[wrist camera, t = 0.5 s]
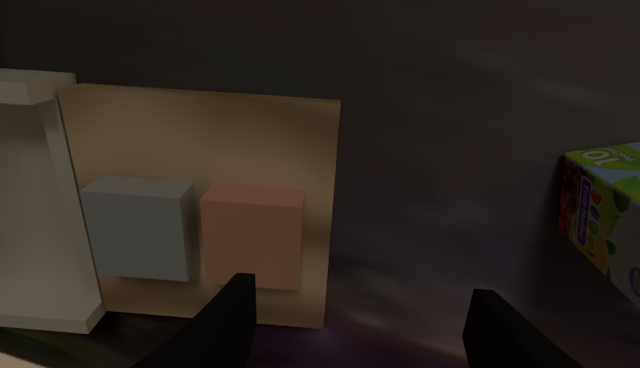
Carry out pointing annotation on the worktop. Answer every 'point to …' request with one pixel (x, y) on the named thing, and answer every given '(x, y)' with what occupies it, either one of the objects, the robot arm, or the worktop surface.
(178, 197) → the slate tile
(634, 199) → the snack box
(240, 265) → the terracotta tile
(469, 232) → the worktop surface
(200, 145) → the board
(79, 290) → the tray
